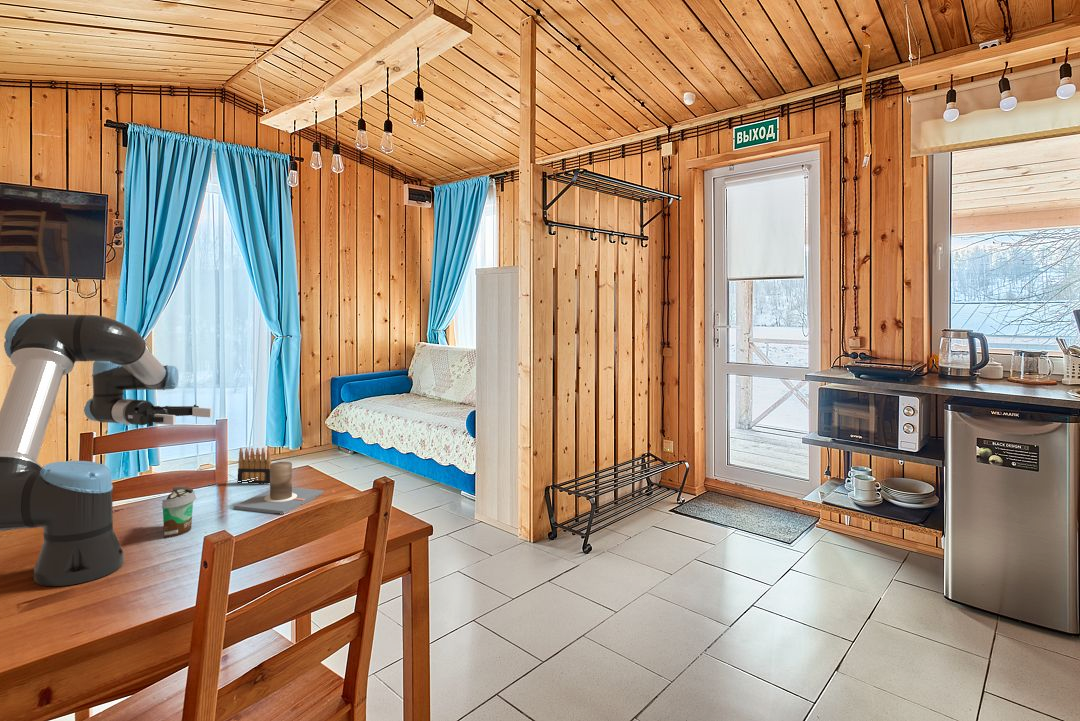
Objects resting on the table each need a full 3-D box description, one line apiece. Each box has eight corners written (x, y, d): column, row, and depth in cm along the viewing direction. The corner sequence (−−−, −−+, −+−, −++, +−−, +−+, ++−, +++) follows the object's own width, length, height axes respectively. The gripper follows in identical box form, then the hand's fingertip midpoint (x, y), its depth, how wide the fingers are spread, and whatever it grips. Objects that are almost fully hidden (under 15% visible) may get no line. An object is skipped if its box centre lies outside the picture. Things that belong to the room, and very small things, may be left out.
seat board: (283, 514, 161) (283, 510, 161) (233, 509, 164) (233, 504, 164) (323, 493, 181) (323, 489, 180) (278, 488, 184) (278, 485, 184)
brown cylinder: (284, 500, 169) (283, 467, 168) (265, 499, 170) (265, 466, 169) (296, 494, 175) (295, 462, 174) (278, 493, 176) (277, 461, 175)
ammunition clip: (272, 482, 190) (272, 447, 189) (270, 484, 188) (270, 448, 187) (239, 482, 190) (239, 446, 189) (237, 483, 188) (236, 447, 187)
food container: (191, 537, 143) (190, 498, 142) (162, 540, 141) (161, 500, 140) (200, 520, 155) (199, 484, 154) (174, 523, 152) (173, 486, 152)
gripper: (169, 417, 187) (225, 421, 183) (95, 431, 163) (157, 436, 158) (169, 394, 187) (224, 398, 182) (94, 405, 162) (156, 410, 158)
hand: (193, 416), depth 170 cm, fingers open, 13 cm apart
